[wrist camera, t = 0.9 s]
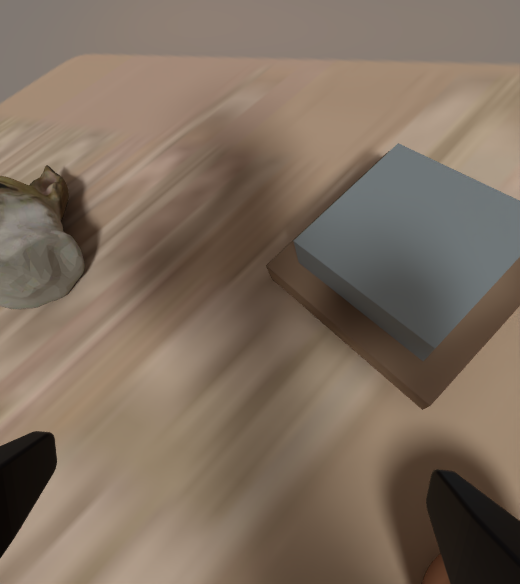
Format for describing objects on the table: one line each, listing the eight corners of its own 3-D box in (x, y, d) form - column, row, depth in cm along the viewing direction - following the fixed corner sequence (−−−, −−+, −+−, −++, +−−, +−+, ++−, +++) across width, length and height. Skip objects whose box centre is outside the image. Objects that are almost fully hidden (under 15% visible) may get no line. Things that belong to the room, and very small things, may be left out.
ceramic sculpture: (-127, 311, 18) (-123, 183, 25) (16, 359, 25) (-14, 248, 33) (42, 193, 19) (-3, 104, 26) (131, 271, 26) (75, 184, 34)
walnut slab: (550, 265, 20) (575, 242, 18) (419, 410, 18) (430, 405, 16) (385, 176, 25) (389, 150, 23) (273, 282, 24) (266, 265, 21)
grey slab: (529, 245, 18) (555, 217, 16) (423, 361, 17) (435, 348, 15) (392, 173, 22) (398, 143, 20) (298, 262, 21) (293, 240, 19)
